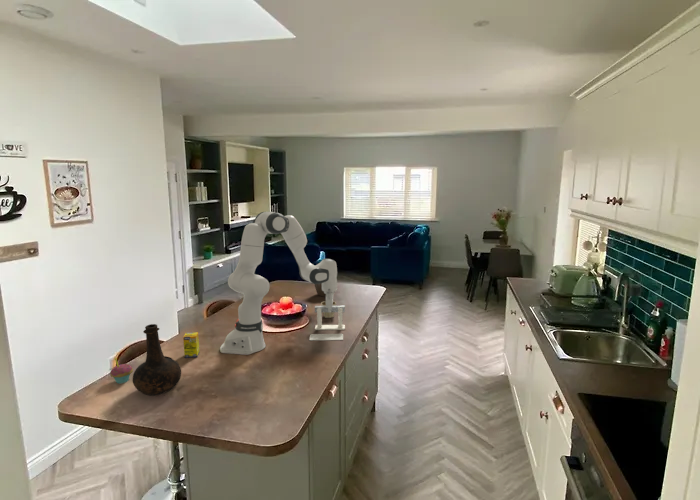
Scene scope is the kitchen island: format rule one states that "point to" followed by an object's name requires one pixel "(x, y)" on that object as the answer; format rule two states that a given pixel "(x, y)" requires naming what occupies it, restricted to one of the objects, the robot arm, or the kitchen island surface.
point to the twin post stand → (329, 327)
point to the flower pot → (328, 314)
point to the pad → (326, 337)
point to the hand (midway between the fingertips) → (329, 310)
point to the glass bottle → (156, 367)
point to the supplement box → (191, 345)
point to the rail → (333, 309)
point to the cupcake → (121, 372)
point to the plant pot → (319, 289)
